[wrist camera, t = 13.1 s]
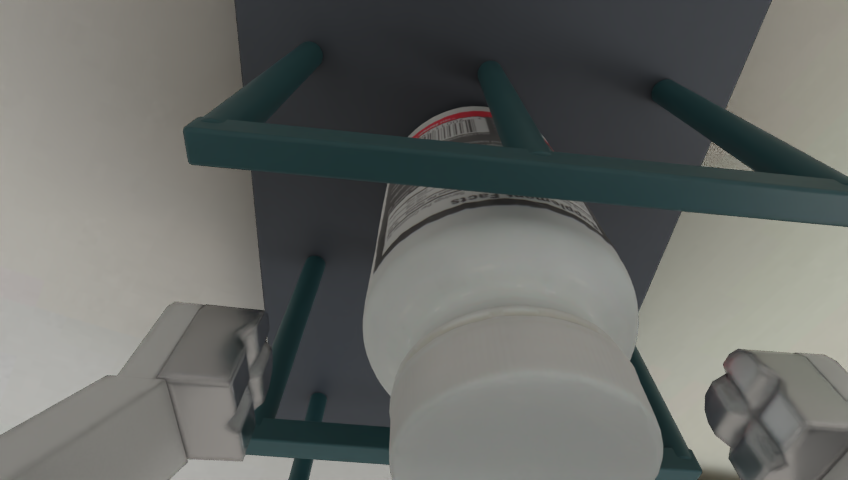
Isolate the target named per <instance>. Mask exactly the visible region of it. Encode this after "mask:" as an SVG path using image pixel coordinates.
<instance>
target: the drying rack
mask: <svg viewBox="0 0 848 480" xmlns="http://www.w3.org/2000/svg"><path fill="white" fill-rule="evenodd" d="M771 1H772V0H235V10H236V20H237V31H238V41H239V51H240V62H241V72H242V82H243V88H241V89H240V90H239V91H237V92H236V93H235V94H233V95H232V96H231V97H229V98H228V99H227V100H225V101H224V102H223V103H221V104H220V105H219V106H217V107H216V108H215V109H213V110H212V111H211V112H209V113H208V114H207V115H205V116H204V117H198V118H196V119H195V120H193V121H192V122H191V123H189V124H188V125H187V126H185V127H184V129H183V134H184V140H185V146H186V152H187V158H188V162H189V164H191V165H199V166H210V167H220V168H231V169H241V170H251V175H252V185H253V195H254V206H255V216H256V226H257V237H258V247H259V257H260V267H261V278H262V288H263V298H264V309H265V311H266V312H267V313H268V316H269V324H270V330H269V332H268V335H267V339H268V344H269V345H270V346H271V347H272V354H273V366H272V375H271V380H270V385H269V389H268V392H267V395H266V398H265V401H264V402H263V403H262V404H261V405H260V406H258V407H257V408H256V409H255V410H254V413H255V421H256V426H255V429H254V432H253V434H252V437H251V440H250V442H249V445H248V448H247V451H246V453H245V455H259V456H273V457H287V458H294V461H293V465H292V469H291V473H290V476H289V480H309V476H310V472H311V467H312V463H313V459H316V460H330V461H344V462H358V463H372V464H386V465H390V464H389V443H390V414H389V409H390V398H391V396H390V395H389V394H388V393H387V392H386V390H385V389H384V388H383V386H382V385H381V383H380V382H379V380H378V379H377V377H376V375H375V373H374V371H373V369H372V367H371V365H370V362H369V359H368V357H367V353H366V349H365V345H364V340H363V314H364V307H365V300H366V295H367V290H368V285H369V280H370V275H371V269H372V265H373V260H374V255H375V250H376V243H377V237H378V230H379V225H380V219H381V213H382V208H383V203H384V198H385V193H386V188H387V183H389V184H400V185H410V186H421V187H431V188H442V189H452V190H463V191H474V192H484V193H495V194H505V195H516V196H526V197H537V198H547V199H558V200H569V201H579V202H586V204H587V206H588V207H589V208H590V210H591V211H592V213H593V214H594V216H595V218H596V220H597V221H598V223H599V225H600V226H601V228H602V229H603V230H604V232H605V234H606V236H607V237H608V239H609V240H610V241H611V243H612V244H613V245H614V247H615V249H616V251H617V253H618V255H619V257H620V259H621V260H622V262H623V264H624V266H625V268H626V270H627V272H628V274H629V276H630V279H631V281H632V284H633V287H634V290H635V294H636V298H637V305H638V312H639V310H640V307H641V305H642V303H643V300H644V298H645V295H646V293H647V291H648V288H649V286H650V284H651V281H652V279H653V277H654V274H655V272H656V270H657V267H658V265H659V263H660V260H661V258H662V256H663V253H664V251H665V249H666V246H667V244H668V242H669V239H670V237H671V235H672V232H673V230H674V228H675V225H676V223H677V221H678V218H679V216H680V214H681V211H685V212H695V213H706V214H716V215H727V216H737V217H748V218H759V219H769V220H780V221H790V222H801V223H811V224H822V225H832V226H843V227H848V177H847V176H846V175H844V174H842V173H840V172H838V171H836V170H835V169H833V168H831V167H829V166H827V165H826V164H824V163H822V162H820V161H818V160H816V159H815V158H813V157H811V156H809V155H807V154H805V153H804V152H802V151H800V150H798V149H796V148H795V147H793V146H791V145H789V144H787V143H785V142H784V141H782V140H780V139H778V138H776V137H775V136H773V135H771V134H769V133H767V132H765V131H764V130H762V129H760V128H758V127H756V126H755V125H753V124H751V123H749V122H747V121H745V120H744V119H742V118H740V117H738V116H736V115H734V114H733V113H731V112H729V111H727V110H725V109H726V106H727V104H728V102H729V99H730V97H731V95H732V92H733V90H734V88H735V85H736V83H737V81H738V78H739V76H740V74H741V71H742V69H743V67H744V64H745V62H746V60H747V57H748V55H749V53H750V50H751V48H752V46H753V43H754V41H755V39H756V36H757V34H758V32H759V29H760V27H761V25H762V22H763V20H764V18H765V15H766V13H767V11H768V8H769V6H770V4H771ZM469 106H481V107H489V110H490V112H491V115H492V118H493V121H494V124H495V126H496V129H497V132H498V135H499V137H500V140H501V143H502V146H503V147H502V146H491V145H481V144H471V143H461V142H451V141H441V140H431V139H421V138H410V137H408V136H409V135H410V134H411V133H412V132H413V131H414V130H415V129H417V128H418V127H419V126H420V125H422V124H423V123H425V122H426V121H428V120H429V119H431V118H432V117H434V116H437V115H439V114H441V113H444V112H446V111H449V110H453V109H456V108H460V107H469ZM541 134H542V135H541ZM542 136H543V137H544V138H545V139H546V141H547V142H548V144H549V145H550V147H551V148H552V149H553V150H554V152H552V151H551V150H550V148H549V147H548V145H547V143H546V142H545V140H544V138H543V137H542ZM711 141H712V142H713V143H715V144H716V145H718V146H719V147H721V148H722V149H723V150H725V151H726V152H728V153H729V154H731V155H732V156H734V157H735V158H736V159H738V160H739V161H741V162H742V163H744V164H745V165H747V166H748V167H750V168H751V169H752V170H754V171H755V172H754V171H744V170H734V169H724V168H714V167H704V166H701V165H702V162H703V160H704V158H705V155H706V153H707V151H708V148H709V146H710V144H711ZM630 362H631V363H632V365H633V366H634V368H635V370H636V373H637V375H638V378H639V381H640V383H641V385H642V387H643V390H644V392H645V394H646V396H647V399H648V401H649V403H650V405H651V408H652V410H653V412H654V414H655V417H656V419H657V422H658V425H659V427H660V430H661V435H662V441H663V459H662V463H661V466H660V470H659V473H658V475H657V477H656V478H655V480H698V478H699V477H700V475H701V474H702V469H701V467H700V465H699V463H698V461H697V459H696V458H695V456H694V454H693V452H692V450H690V449H688V447H687V445H686V443H685V441H684V439H683V437H682V435H681V433H680V431H679V429H678V427H677V425H676V423H675V421H674V420H673V418H672V416H671V414H670V412H669V410H668V408H667V406H666V404H665V402H664V400H663V398H662V396H661V394H660V392H659V390H658V388H657V386H656V385H655V383H654V381H653V379H652V377H651V375H650V373H649V371H648V369H647V367H646V365H645V363H644V361H643V359H642V357H641V355H640V353H639V351H638V350H637V348H636V346H635V348H634V351H633V354H632V357H631V360H630Z"/></svg>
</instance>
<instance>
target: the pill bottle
mask: <svg viewBox="0 0 848 480" xmlns="http://www.w3.org/2000/svg"><path fill="white" fill-rule="evenodd" d="M541 135H542V134H541ZM408 137H410V138H421V139H431V140H441V141H451V142H461V143H471V144H481V145H491V146H502V143H501V140H500V137H499V135H498V132H497V129H496V126H495V124H494V121H493V118H492V115H491V112H490V110H489V107H481V106H469V107H460V108H456V109H453V110H449V111H446V112H444V113H441V114H439V115H437V116H434V117H432V118H431V119H429V120H428V121H426V122H425V123H423V124H422V125H420V126H419V127H418V128H417V129H415V130H414V131H413V132H412V133H411V134H410V135H409V136H408ZM542 137H543V136H542ZM543 138H544V137H543ZM544 140H545V142H546V143H547V145H548V147H549V148H550V150H551V151H552V152H554V150H553V149H552V148H551V147H550V145H549V144H548V142H547V141H546V139H545V138H544ZM502 147H503V146H502ZM638 325H639V321H638V305H637V298H636V294H635V290H634V287H633V284H632V281H631V279H630V276H629V274H628V272H627V270H626V268H625V266H624V264H623V262H622V260H621V259H620V257H619V255H618V253H617V251H616V249H615V247H614V245H613V244H612V243H611V241H610V240H609V239H608V237H607V236H606V234H605V232H604V230H603V229H602V228H601V226H600V225H599V223H598V221H597V220H596V218H595V216H594V214H593V213H592V211H591V210H590V208H589V207H588V206H587V204H586V202H579V201H569V200H558V199H547V198H537V197H526V196H516V195H505V194H495V193H484V192H474V191H463V190H452V189H442V188H431V187H421V186H410V185H400V184H389V183H387V188H386V193H385V198H384V203H383V208H382V213H381V219H380V225H379V230H378V237H377V243H376V250H375V255H374V260H373V265H372V269H371V275H370V280H369V285H368V290H367V295H366V300H365V307H364V314H363V340H364V345H365V349H366V353H367V357H368V359H369V362H370V365H371V367H372V369H373V371H374V373H375V375H376V377H377V379H378V380H379V382H380V383H381V385H382V386H383V388H384V389H385V390H386V392H387V393H388V394H389V395H390V396H391V398H390V409H389V414H390V443H389V464H390V473H391V477H392V480H655V478H656V477H657V475H658V473H659V470H660V466H661V463H662V459H663V441H662V435H661V430H660V427H659V425H658V422H657V419H656V417H655V414H654V412H653V410H652V408H651V405H650V403H649V401H648V399H647V396H646V394H645V392H644V390H643V387H642V385H641V383H640V381H639V378H638V375H637V373H636V370H635V368H634V366H633V365H632V363H631V362H630V360H631V357H632V354H633V351H634V348H635V344H636V340H637V334H638Z"/></svg>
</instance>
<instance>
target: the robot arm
mask: <svg viewBox="0 0 848 480" xmlns="http://www.w3.org/2000/svg"><path fill="white" fill-rule="evenodd" d="M269 330H270V324H269V316H268V313H267V312H266V311H264V310H255V309H245V308H236V307H226V306H217V305H207V304H206V305H201V304H192V303H182V302H174V303H172V304H171V305H169V306H167V307H166V309H165V310H164V311H163V313H162V314H161V316H160V317H159V318H158V320H157V321H156V323H155V324H154V325H153V327H152V328H151V329H150V331H149V332H148V334H147V335H146V336H145V338H144V339H143V341H142V342H141V343H140V345H139V346H138V347H137V349H136V350H135V352H134V353H133V354H132V356H131V357H130V359H129V360H128V361H127V363H126V364H125V366H124V367H123V368H122V370H121V371H120V372H119V374H118V375H117V376H111V375H107V376H105V377H103V378H101V379H99V380H98V381H96V382H94V383H92V384H91V385H89V386H87V387H85V388H83V389H82V390H80V391H78V392H76V393H74V394H73V395H71V396H69V397H67V398H66V399H64V400H62V401H60V402H58V403H57V404H55V405H53V406H51V407H50V408H48V409H46V410H44V411H42V412H41V413H39V414H37V415H35V416H34V417H32V418H30V419H28V420H26V421H25V422H23V423H21V424H19V425H18V426H16V427H14V428H12V429H10V430H9V431H7V432H5V433H3V434H1V435H0V480H169V479H170V478H171V477H173V476H174V475H175V474H176V473H177V472H178V471H179V470H180V469H181V468H182V467H183V466H184V465H185V464H186V463H187V462H188V461H187V459H199V460H224V461H243V459H244V456H245V453H246V451H247V448H248V445H249V442H250V440H251V437H252V434H253V432H254V429H255V426H256V421H255V413H254V410H255V409H256V408H257V407H258V406H260V405H261V404H262V403H263V402H264V401H265V398H266V395H267V392H268V389H269V385H270V380H271V375H272V366H273V354H272V347H271V346H270V345H269V344H268V343H267V342H266V341H265V340H266V337H267V335H268V332H269ZM723 366H724V369H725V372H726V374H725V375H723V376H721V377H720V378H718V379H716V380H715V381H713V382H712V383H711V385H710V387H709V389H708V391H707V393H706V395H705V413H706V416H707V420H708V423H709V425H710V426H711V428H712V430H713V432H714V434H715V435H716V436H717V437H718V438H720V439H721V440H722V441H723V442H725V443H726V444H727V445H728V446H730V453H729V460H730V462H731V463H732V465H733V467H734V468H735V470H736V472H737V474H738V475H739V477H740V479H741V480H848V372H847V371H846V370H845V369H844V368H843V367H842V366H841V365H840V364H839V363H838V362H837V361H835V360H834V359H832V358H830V357H828V356H826V355H823V354H807V353H787V352H773V351H760V350H746V349H737V350H735V351H734V352H732V353H731V354H729V356H728V357H727V359H726V360H725V362H724V364H723Z"/></svg>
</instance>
